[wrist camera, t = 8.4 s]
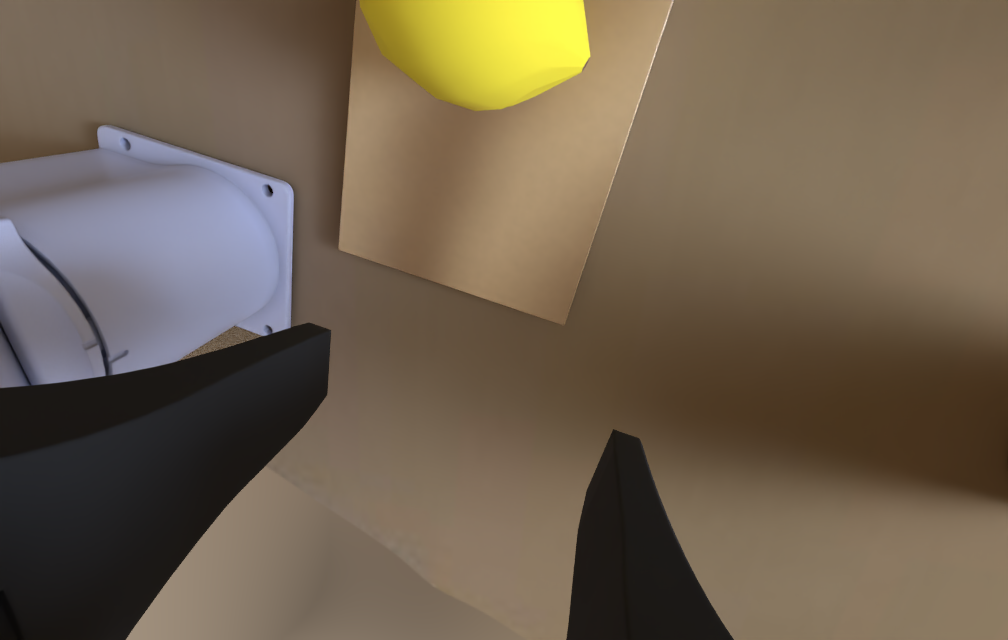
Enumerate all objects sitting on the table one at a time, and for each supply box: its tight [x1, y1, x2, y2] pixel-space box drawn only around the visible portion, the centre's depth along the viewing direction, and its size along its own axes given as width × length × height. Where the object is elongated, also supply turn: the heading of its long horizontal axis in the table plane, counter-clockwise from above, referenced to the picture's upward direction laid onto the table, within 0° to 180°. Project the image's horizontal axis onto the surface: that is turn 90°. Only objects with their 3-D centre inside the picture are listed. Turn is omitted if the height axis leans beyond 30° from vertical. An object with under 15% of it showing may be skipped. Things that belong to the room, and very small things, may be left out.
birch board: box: [338, 0, 674, 325], centre depth 16 cm, size 10×20×1 cm, turn 167°
